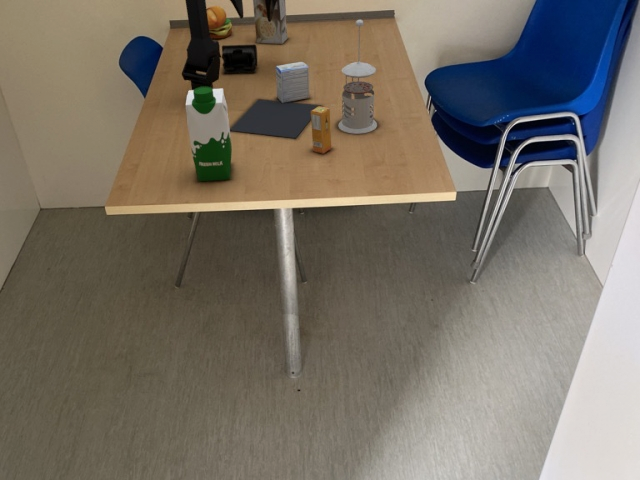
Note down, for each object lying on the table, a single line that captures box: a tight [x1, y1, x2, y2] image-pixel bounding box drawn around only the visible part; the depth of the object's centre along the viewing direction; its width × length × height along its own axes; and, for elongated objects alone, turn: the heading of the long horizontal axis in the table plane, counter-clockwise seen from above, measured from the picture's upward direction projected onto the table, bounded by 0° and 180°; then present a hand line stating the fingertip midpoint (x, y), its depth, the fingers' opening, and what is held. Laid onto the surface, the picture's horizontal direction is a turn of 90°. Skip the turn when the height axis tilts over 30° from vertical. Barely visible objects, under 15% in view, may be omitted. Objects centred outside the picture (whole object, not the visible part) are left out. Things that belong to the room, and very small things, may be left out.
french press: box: [337, 19, 378, 135], centre depth 162 cm, size 10×12×25 cm
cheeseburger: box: [206, 5, 233, 39], centre depth 225 cm, size 10×11×10 cm
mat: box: [230, 98, 322, 140], centre depth 176 cm, size 20×18×1 cm
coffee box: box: [252, 0, 289, 45], centre depth 215 cm, size 9×6×16 cm
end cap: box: [221, 44, 258, 75], centre depth 201 cm, size 10×7×7 cm
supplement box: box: [310, 106, 332, 155], centre depth 158 cm, size 3×3×10 cm
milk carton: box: [185, 87, 233, 182], centre depth 148 cm, size 9×9×20 cm
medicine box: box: [275, 61, 310, 103], centre depth 182 cm, size 8×4×9 cm, turn 111°
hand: (255, 19), depth 192 cm, fingers open, 9 cm apart
